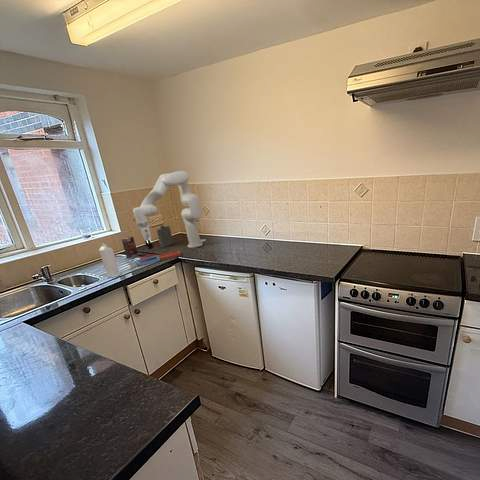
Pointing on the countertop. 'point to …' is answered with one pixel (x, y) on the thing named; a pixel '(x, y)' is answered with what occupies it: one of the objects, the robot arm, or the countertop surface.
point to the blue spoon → (148, 259)
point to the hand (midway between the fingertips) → (149, 247)
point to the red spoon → (147, 256)
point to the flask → (164, 236)
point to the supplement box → (130, 247)
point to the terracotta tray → (169, 255)
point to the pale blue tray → (148, 261)
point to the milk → (109, 261)
